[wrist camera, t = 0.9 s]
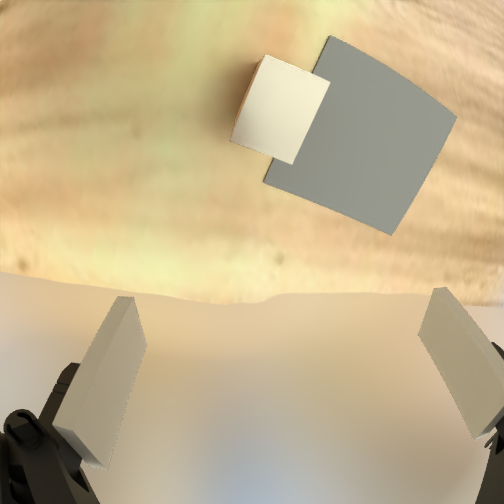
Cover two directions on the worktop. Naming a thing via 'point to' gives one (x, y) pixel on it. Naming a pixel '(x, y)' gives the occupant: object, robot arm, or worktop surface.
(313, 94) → the tall block
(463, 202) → the worktop surface
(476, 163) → the worktop surface
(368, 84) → the mat
